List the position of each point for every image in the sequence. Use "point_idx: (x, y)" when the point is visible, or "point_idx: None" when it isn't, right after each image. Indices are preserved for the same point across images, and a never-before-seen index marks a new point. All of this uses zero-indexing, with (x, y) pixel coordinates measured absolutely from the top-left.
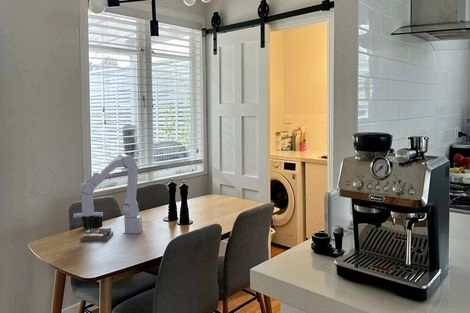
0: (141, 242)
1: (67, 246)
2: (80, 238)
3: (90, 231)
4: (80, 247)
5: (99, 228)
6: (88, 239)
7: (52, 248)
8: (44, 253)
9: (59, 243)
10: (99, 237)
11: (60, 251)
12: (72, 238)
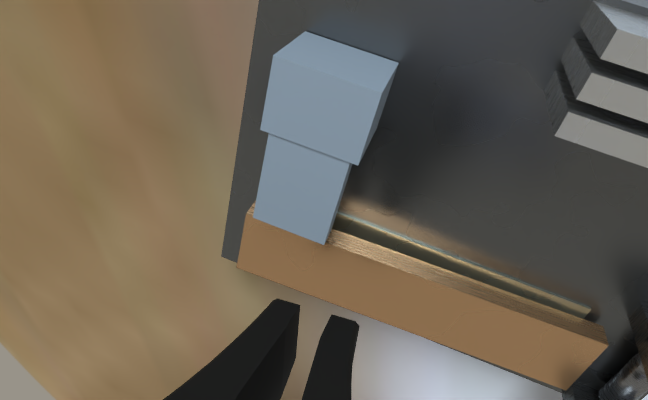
0: None
1: (152, 310)
2: (227, 253)
3: (341, 191)
4: (285, 388)
5: (567, 138)
6: None
7: (43, 299)
8: (46, 371)
9: (28, 185)
10: None
11: (142, 390)
12: (89, 25)
